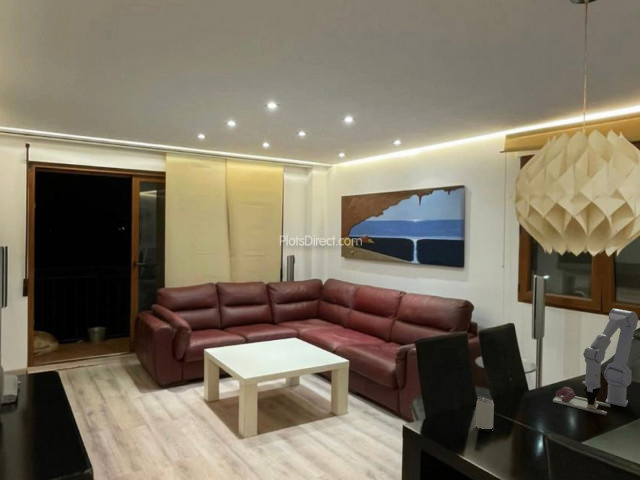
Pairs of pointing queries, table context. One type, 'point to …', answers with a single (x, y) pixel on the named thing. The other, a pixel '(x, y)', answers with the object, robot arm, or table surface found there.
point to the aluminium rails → (583, 406)
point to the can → (484, 413)
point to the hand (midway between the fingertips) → (591, 403)
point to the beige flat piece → (579, 402)
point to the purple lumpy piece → (566, 394)
